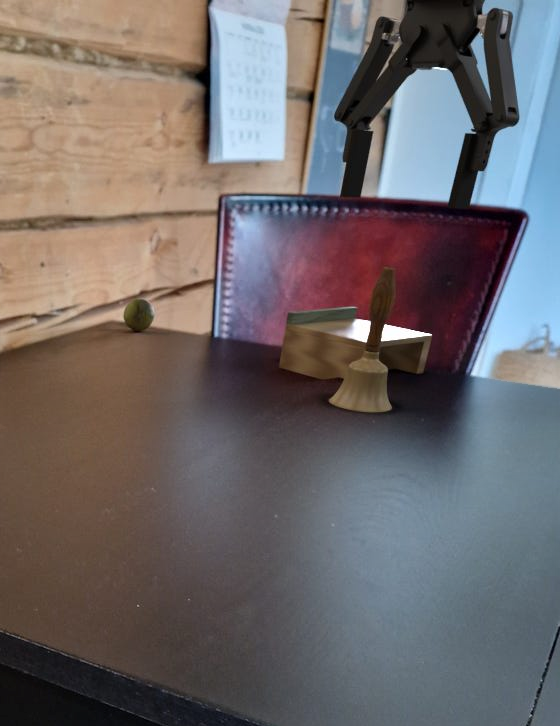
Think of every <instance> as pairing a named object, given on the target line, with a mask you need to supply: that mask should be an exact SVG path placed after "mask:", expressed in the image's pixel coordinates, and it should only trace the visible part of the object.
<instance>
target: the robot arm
mask: <svg viewBox="0 0 560 726" xmlns="http://www.w3.org/2000/svg"><path fill="white" fill-rule="evenodd" d="M485 2H486V0H406V3H407V4H406V5H407V6H406V11H405V14H404V16H403V17H402V20H400V19H396V18H392V17H387V16H384V15H382V16H379V17H378V18H377V19H376V22H375V25H374V28H373V32H372V35H371V40H370V43H369V45H368V47H367V49H366V50H365V53H364V55H363V57H362V58H361V60H360V62H359V64H358V66H357V68H356V70H355V72H354V74H353V76H352V78H351V80H350V82H349V84H348V85H347V87H346V90H345V91H344V93H343V96H342V97H341V99H340V101H339V103H338V105H337V106H336V109H335V111H334V113H333V118H334V121H335V122H339V123H341V124H342V125H344V126H345V127H346V134H345V135H346V136H345V141H344V147H343V152H342V157H341V158H342V163H345V167H344V173H343V176H342V183H341V187H340V193H339V198H346V199H347V198H349V199H361V196H362V193H363V187H364V182H365V178H366V171H367V167H368V161H369V156H370V151H371V147H372V141H373V137H374V130H371V129H372V127H371V125H370V124H372V122H373V121H374V120H375V119H376V118H377V116H378V115H379V114H380V112H381V111H382V110H383V108H385V106H386V105H387V104H388V102H389V101H390V100H391V99H392V97H393V96H394V95H395V94H396V92H397V91H399V89H400V88H401V86H402V85H403V84H404V83H405V81H406V80H407V78H409V76H412V75H414V74H415V73H416V72H417V70H421V71H431V70H434V69H437V70H444V71H446V70H448V71H449V72H450V73H451V74H452V76H453V79H454V82H455V84H456V87H457V89H458V92H459V95H460V97H461V100H462V102H463V104H464V106H465V109H466V112H467V114H468V116H469V119H470V121H471V123H472V126H473V127H472V128H470V131H471V132H465V133H464V137H463V141H462V145H461V149H460V153H459V157H458V162H457V164H456V169H455V173H454V178H453V182H452V186H451V190H450V193H449V198H448V203H447V209H460V210H462V209H463V210H465V209H466V210H467V209H470V207H471V202H472V198H473V193H474V190H475V186H476V183H477V179H478V176H479V172H484V171H485V170H486V168H487V167H488V163H489V159H490V156H491V151H492V148H493V145H494V140H495V137H496V135H497V134H498V132H500V131H502V130H504V129H507V128H510V127H511V128H513V127H515V126H516V125H518V124H519V122H520V119H521V118H520V117H521V116H520V109H519V100H518V95H517V87H516V79H515V72H514V71H515V70H514V63H513V55H512V49H511V48H512V47H511V41H510V38H511V34H512V33H511V32H512V26H513V20H514V14H513V12H512V11H510V10H506V9H504V8H503V9H502V8H499V7H493V8H491V9H490V10H489V11H488V12H487V13H483V7H484V3H485ZM479 34H480V36H481V39H482V40H483V54H484V59H485V67H486V74H487V80H488V82H487V83H488V89H489V90H487V88H486V86H485V83H484V81H483V78H482V76H481V72H480V71H479V68H478V58H477V56H476V54H475V52H474V49H473V46H472V45H471V44H473V42H474V41H475V40H476V38H477V37H478V35H479ZM399 42H401V44H400V45H399V46H398V48H397V49H396V51H394V53H393V54H392V52H393V50H394V47H395V44H396V43H399ZM391 54H392V56H391ZM390 56H391V57H390ZM387 62H388V65H387V67H386V68H385V69H384V67H385V66H386V64H387ZM382 71H383V72H382ZM488 91H489V92H488ZM472 132H473V133H472Z"/></svg>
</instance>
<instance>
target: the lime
mask: <svg viewBox="0 0 560 726" xmlns="http://www.w3.org/2000/svg"><path fill="white" fill-rule="evenodd" d="M122 317H123V321H124V324H125V325H126V326H127V328H129V329H130V330H132V331H134V332H143V331H146V330H147V329H148V328H150V326H151V325H152V324H153V322H154V318H155V310H154V307H153V305H152V304H151V303H150V302H149V301H147V300H146V299H143V298H138V299H133V300H132V301H131V302H129V303H128V304H127V305H126V306H125V308H124V311H123V315H122Z"/></svg>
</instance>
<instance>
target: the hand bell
mask: <svg viewBox="0 0 560 726" xmlns="http://www.w3.org/2000/svg"><path fill="white" fill-rule="evenodd" d="M396 295H397V285H396V268H394V267H388V266H385V267H382V270H381V273H380V275H379V277H378V278H377V280H376V281H375V284H374V285H373V288H372V291H371V296H370V300H369V309H368V310H369V311H368V312H369V321H370V329H369V333H368V338H367V342H366V344H367V345H366V346H365V351H364V355H363V357H362V358H361V359H360V360H357V361H354V362H352V363H351V364H350V365H349V367H348V371H347V373H346V376H345V379H344V378H343V381H342V383H341V384H340V386H339V388H338V390H337V391H336V392H335V393H334V394H333V396H331V397H330V398H329V399H328V402H329V403H330V404H331V405H332V406H335V407H338V408H342V409H345V410H350V411H355V412H362V413H363V412H364V413H384V412H389V411H391V410H392V409H393V407H392V405H391V403H390V401H389V397H388V389H387V384H388V383H387V382H388V374H389V370H388V369H387V367H386V366H385V365H383V364H382V363H381V362H380V361H379V351H380V345H381V341H382V334H383V329H384V326H385V325H387V324H386V323H387V322H388V320H389V318H390V316H391V313H392V310H393V307H394V304H395V301H396Z"/></svg>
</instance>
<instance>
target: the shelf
mask: <svg viewBox="0 0 560 726" xmlns="http://www.w3.org/2000/svg"><path fill="white" fill-rule="evenodd" d="M357 312H358V307H357V306H343V307H342V306H341V307H331V308H320V309H309V310H295V311H288V312H287V316H286V321H285V323H286V324H285V328H284V333H283V338H282V346H281V351H280V352H281V353H280V358H279V364H278V368H279V369H283V370H287V371H288V372H289V371H290V372H293V373H296V374H300V375H304V376H308V377H310V378H315V379H319V380H321V381H324V380H329V379H336V378H340V379H343V380H344V379H345V376H346V373H347V371H348V367H349V365H350V364H351V363H352V362H354V361H357V360H360V359H361V358H362V357H363V355H364V351H365V346H366V345H367V344H366V342H367V338H368V333H369V329H370V320H364V319H359V318H356V316H357ZM432 338H433V334H431V333H425V332H421V331H416V330H411V329H408V328H402V327H397V326H393V325H388V324H385V326H384V329H383V334H382V341H381V345H380V351H379V361H380V362H381V363H382V364H383V365H385V366H386V367H387V369H388V371H389V370H394V369H395V370H400V371H403V372H407V373H411V374H415V375H419V374H424V371H425V367H426V363H427V359H428V355H429V351H430V346H431V342H432Z"/></svg>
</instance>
